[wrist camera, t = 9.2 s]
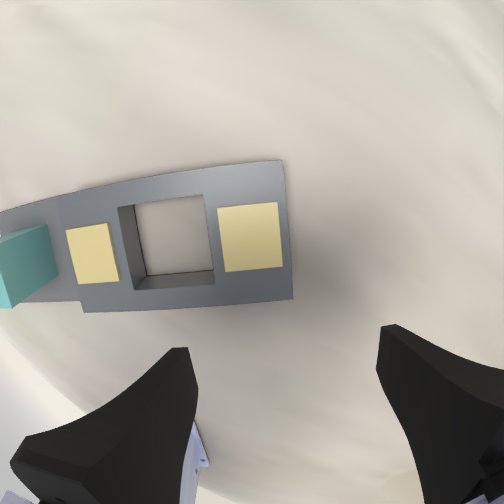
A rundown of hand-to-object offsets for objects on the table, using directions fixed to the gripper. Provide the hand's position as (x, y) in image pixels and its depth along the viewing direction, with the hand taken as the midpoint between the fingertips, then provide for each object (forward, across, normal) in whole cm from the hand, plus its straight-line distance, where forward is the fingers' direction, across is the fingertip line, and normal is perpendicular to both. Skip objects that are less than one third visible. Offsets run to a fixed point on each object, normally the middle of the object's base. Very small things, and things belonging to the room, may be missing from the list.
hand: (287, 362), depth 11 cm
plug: (+10, +18, -3) cm, 21 cm away
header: (+10, +6, -3) cm, 12 cm away
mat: (+10, +18, -3) cm, 21 cm away
